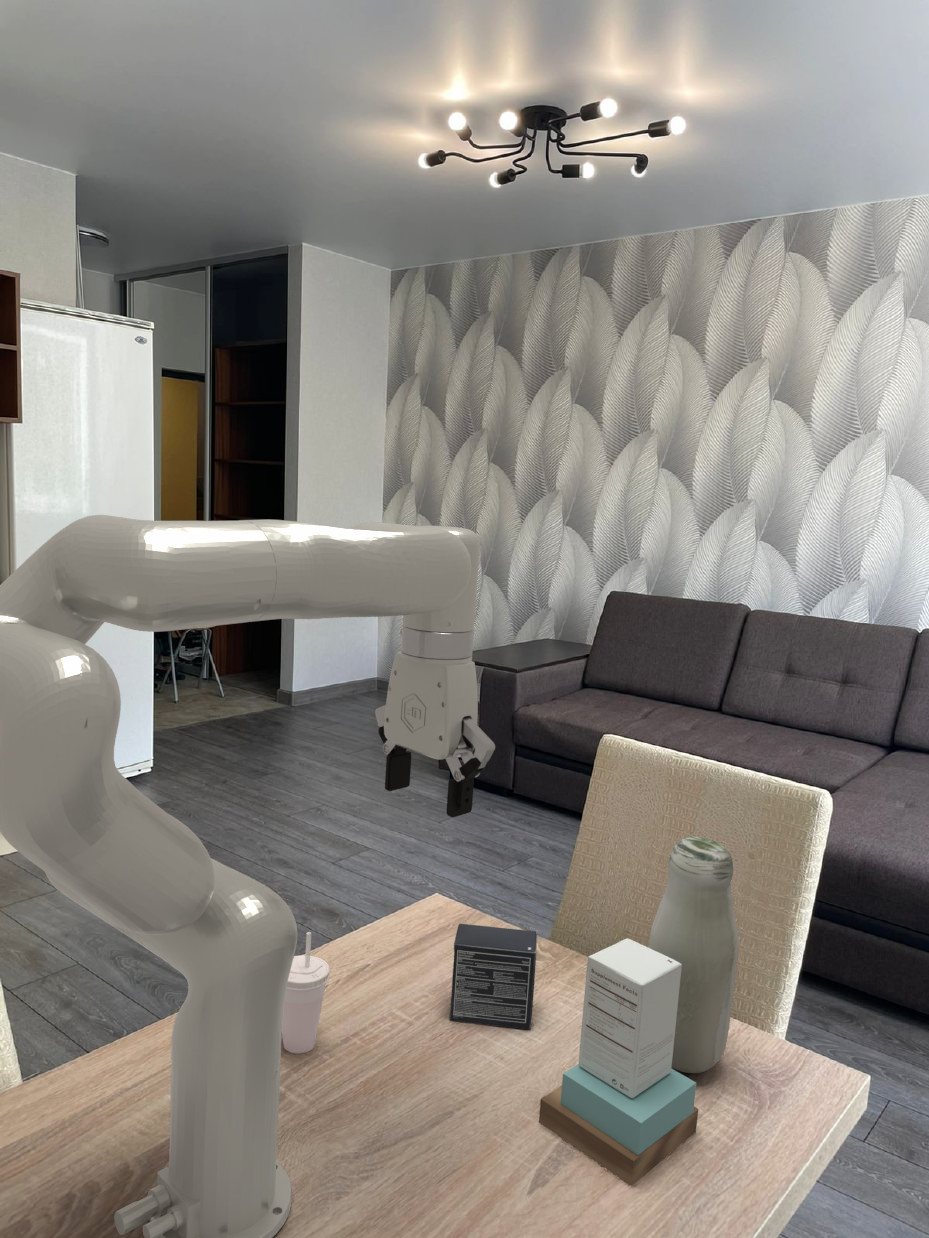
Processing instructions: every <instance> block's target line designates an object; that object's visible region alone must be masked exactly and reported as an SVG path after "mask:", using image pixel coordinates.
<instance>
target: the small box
mask: <svg viewBox="0 0 929 1238" xmlns="http://www.w3.org/2000/svg"><path fill="white" fill-rule="evenodd" d="M537 941H538V931H535V930H525V929H517V928H516V929H514V928H509V927H508V928H507V927H499V926H497V927H496V926H488V925H487V926H486V925H477V924H467V923H459V924H458V926H457V929H456V934H455V938H454V941H453V964H452V965H453V966H452V977H451V978H452V982H451V994H450V995H451V997H450V1007H449V1008H450V1009H449V1014H448V1015H449V1017H448V1020H449V1021H451V1022H459V1023H467V1024H475V1025H486V1026H493V1027H494V1026H495V1027H501V1028H502V1027H503V1028H511V1029H520V1030H529V1031H530V1029H532V1027H533V1022H532V1020H533V1009H534V1008H533V1005H534V995H535V993H534V990H535V979H536V965H537V964H536V962H537V946H538V945H537V944H538V943H537Z"/></svg>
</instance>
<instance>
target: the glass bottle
mask: <svg viewBox="0 0 929 1238" xmlns="http://www.w3.org/2000/svg"><path fill="white" fill-rule="evenodd" d="M667 872H668V873H667V881H666V886H665V889H664V890H665V891H664V894H663V896H662V898H661V901H660V903H659V906H658V909H657V911H656V914H655V917H654V919H653V922H652V925H651V929H650V933H649V939H648V946H647V947H648V948H650V949H652V950H654V951H656V952H659V953H661V954H663V955H665V956H667V957H669V958H671V959H673V960H675V961H677V962H679V963H681V964H682V968H681V978H680V988H679V998H678V1007H677V1018H676V1027H675V1037H674V1047H673V1057H672V1067H671V1069H673V1070H675V1071H677V1072H682V1073H685V1074H686V1073H687V1074H701V1073H703V1072H706V1071H708V1070H709V1069H711V1068H713V1067H714V1066H715V1064H717V1063H718V1062H719V1061H720V1060H721V1059H722V1057H723V1055H724V1052H725V1049H726V1045H727V1042H728V1037H729V1031H730V1023H731V1016H732V1009H733V1008H732V1007H733V1000H734V992H735V985H736V977H737V970H738V969H737V968H738V961H739V960H738V959H739V952H740V949H739V948H740V944H739V943H740V940H739V932H738V924H737V923H738V922H737V918H736V915H735V909H734V903H733V902H734V900H733V892H732V883H731V881H732V879H733V875H734V864H733V857H732V855H731V853H730V851H729V850H728V849H727V848H725V847H724V845H722V844H720V843H718V842H716V841H714V840H713V839H710V838H705V837H701V836H687V837H685V838H682V839H680V840H678V841H677V842H676V843H675V845H674V846H673V848H672V850H671V853H670V855H669V858H668V862H667Z"/></svg>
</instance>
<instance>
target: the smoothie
mask: <svg viewBox="0 0 929 1238" xmlns="http://www.w3.org/2000/svg"><path fill="white" fill-rule="evenodd" d="M305 935H306V936H305V937H306V938H305V955H304V954H302V955H294V958H293V962H292V966H291V970H290V973H289V977H288V982H287V986H286V992H285V998H284V1006H283V1017H282V1033H281V1035H282V1041H283V1048H284V1049H285V1051H287V1052H289V1053H292V1054H305V1053H308V1052H310V1051H311V1050H313V1049H314V1047H315V1046H316V1040H317V1033H318V1029H319V1023H320V1018H321V1011H322V1007H323V1006H322V1005H323V1001H324V996H325V989H326V986H327V985H326V984H327V983H328V981H329V979H330V976H331V974H330V966H329V964H328V962H326V961H325V960H324V959H323V958H320V957H317V956H313V955H311V946H312V943H311V942H312V932H310V931H308V932H306V933H305Z"/></svg>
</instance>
